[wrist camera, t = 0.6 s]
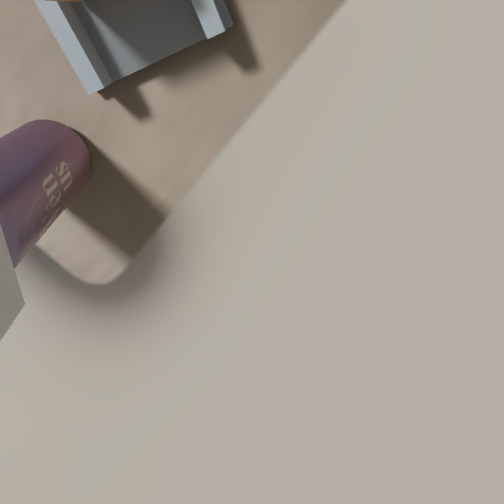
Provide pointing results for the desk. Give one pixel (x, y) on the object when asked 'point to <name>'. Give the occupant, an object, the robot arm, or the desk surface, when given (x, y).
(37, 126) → the beverage can
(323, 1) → the desk surface
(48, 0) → the block
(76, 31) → the chute
